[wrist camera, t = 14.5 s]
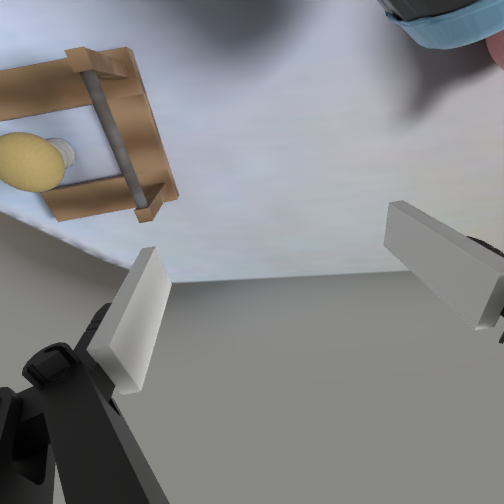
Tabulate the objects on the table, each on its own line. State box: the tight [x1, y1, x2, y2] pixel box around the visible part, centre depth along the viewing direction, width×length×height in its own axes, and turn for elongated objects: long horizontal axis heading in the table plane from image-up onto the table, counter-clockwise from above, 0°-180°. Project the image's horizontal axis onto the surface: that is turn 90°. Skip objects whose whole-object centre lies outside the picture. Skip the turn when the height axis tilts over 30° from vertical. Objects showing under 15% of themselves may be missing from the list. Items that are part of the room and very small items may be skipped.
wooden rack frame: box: [0, 47, 179, 223], centre depth 30 cm, size 18×18×12 cm
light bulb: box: [0, 132, 76, 192], centre depth 31 cm, size 6×6×10 cm
